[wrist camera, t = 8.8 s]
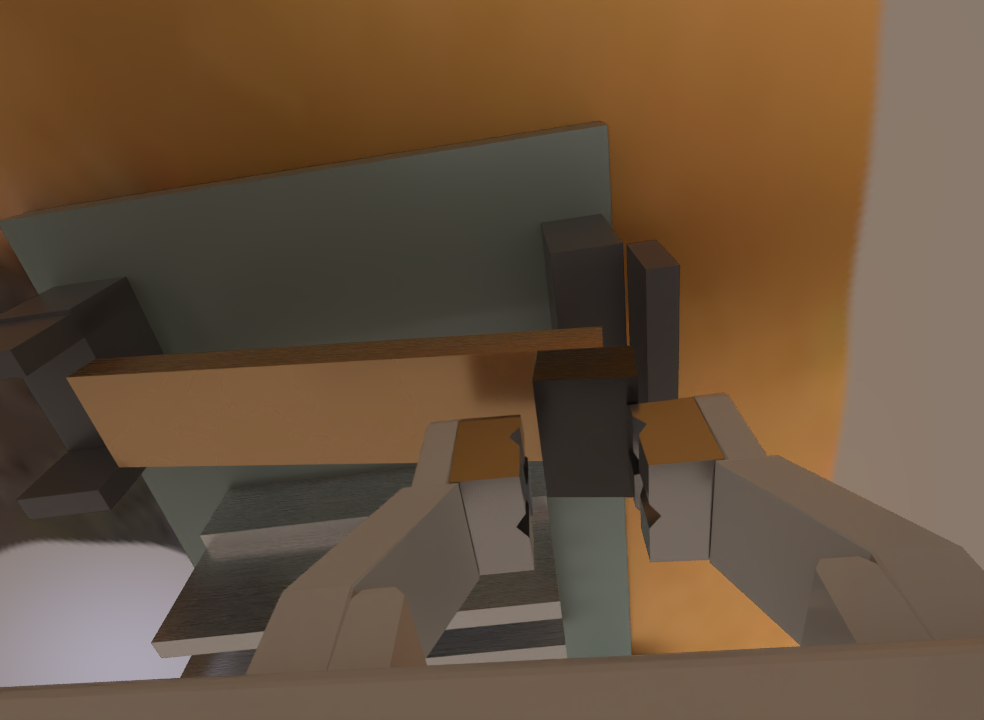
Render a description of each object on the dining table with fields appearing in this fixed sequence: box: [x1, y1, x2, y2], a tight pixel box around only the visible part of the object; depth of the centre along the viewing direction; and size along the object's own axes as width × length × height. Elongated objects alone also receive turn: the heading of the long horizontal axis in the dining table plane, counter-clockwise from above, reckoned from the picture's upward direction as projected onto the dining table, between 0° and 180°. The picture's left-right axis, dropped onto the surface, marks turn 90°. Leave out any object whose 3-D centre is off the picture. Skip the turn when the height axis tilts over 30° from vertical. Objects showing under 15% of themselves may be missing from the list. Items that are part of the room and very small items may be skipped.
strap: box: [66, 326, 638, 497], centre depth 11 cm, size 12×2×2 cm, turn 98°
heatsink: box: [151, 461, 568, 678], centre depth 17 cm, size 10×8×5 cm
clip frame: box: [0, 214, 680, 520], centre depth 17 cm, size 15×22×4 cm, turn 8°
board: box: [0, 121, 632, 658], centre depth 20 cm, size 15×26×1 cm, turn 8°
